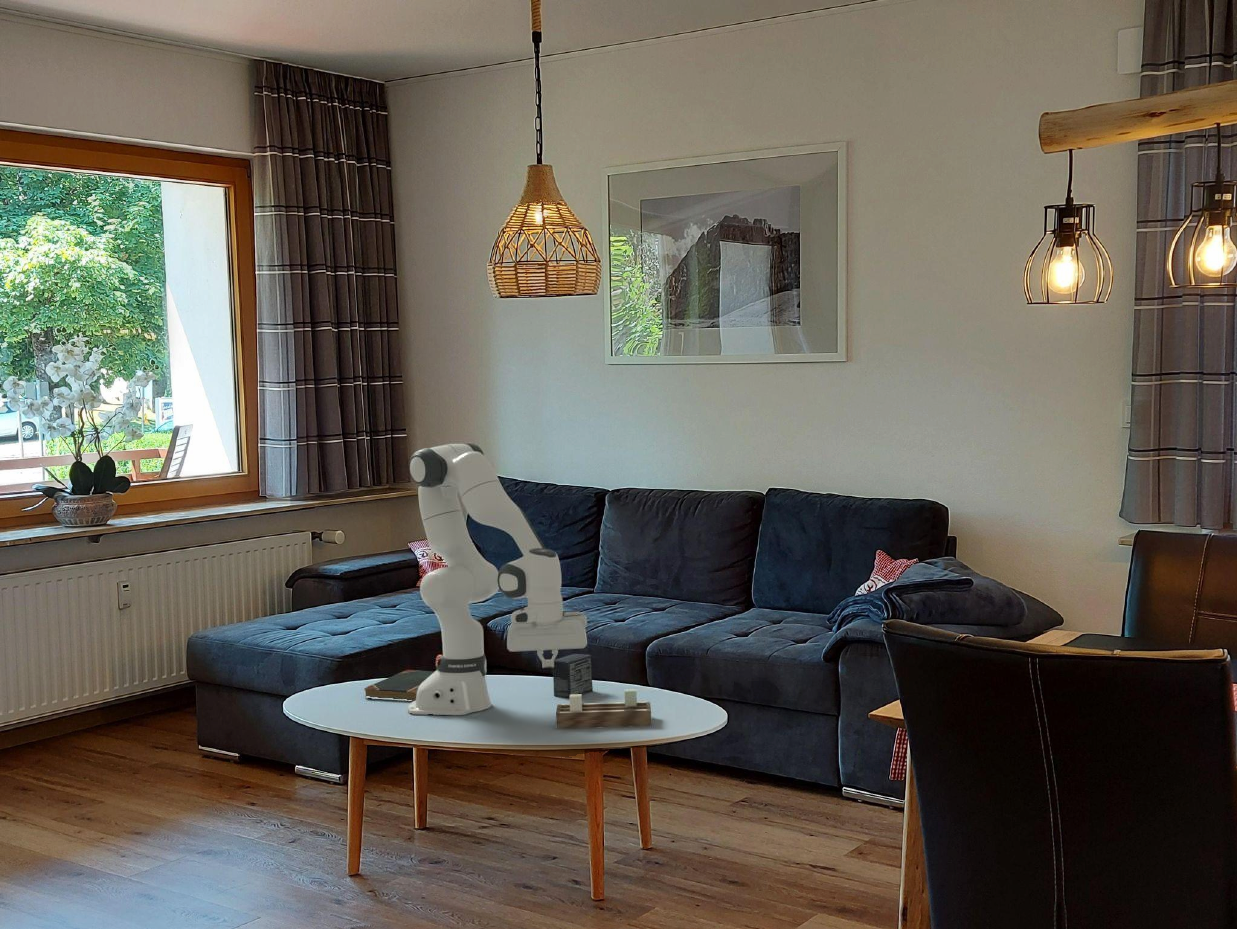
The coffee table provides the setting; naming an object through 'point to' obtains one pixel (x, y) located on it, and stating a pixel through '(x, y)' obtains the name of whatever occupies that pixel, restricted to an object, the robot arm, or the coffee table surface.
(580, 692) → the small box
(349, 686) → the coffee table surface
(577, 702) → the offwhite block
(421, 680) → the book
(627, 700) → the sage tab
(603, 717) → the wooden shelf rack
